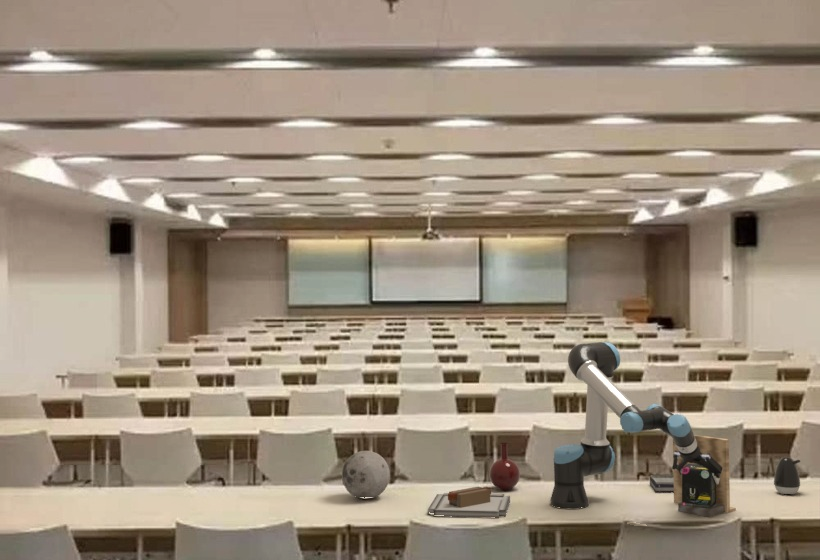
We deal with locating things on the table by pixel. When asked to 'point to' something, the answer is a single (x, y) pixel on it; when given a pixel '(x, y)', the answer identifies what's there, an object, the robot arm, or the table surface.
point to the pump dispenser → (787, 476)
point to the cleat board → (721, 456)
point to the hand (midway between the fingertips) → (702, 479)
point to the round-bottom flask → (504, 471)
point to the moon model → (365, 474)
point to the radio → (662, 483)
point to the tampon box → (698, 486)
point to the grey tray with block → (470, 503)
